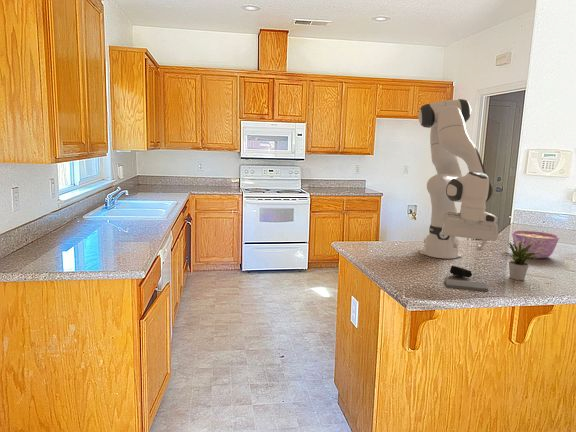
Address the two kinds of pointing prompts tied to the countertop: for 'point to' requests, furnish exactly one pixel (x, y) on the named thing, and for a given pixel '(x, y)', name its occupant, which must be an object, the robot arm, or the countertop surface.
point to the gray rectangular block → (466, 285)
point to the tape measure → (460, 271)
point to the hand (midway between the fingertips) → (466, 248)
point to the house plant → (519, 261)
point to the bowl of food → (536, 242)
